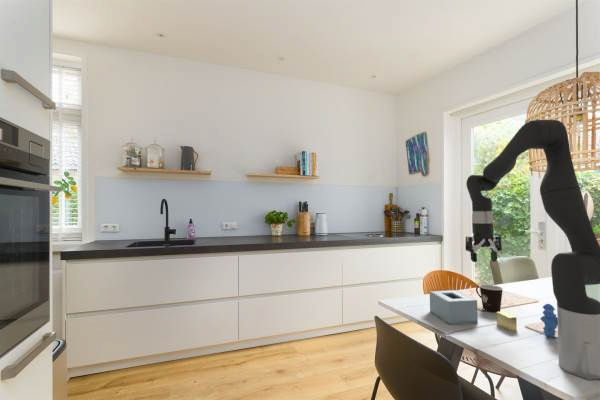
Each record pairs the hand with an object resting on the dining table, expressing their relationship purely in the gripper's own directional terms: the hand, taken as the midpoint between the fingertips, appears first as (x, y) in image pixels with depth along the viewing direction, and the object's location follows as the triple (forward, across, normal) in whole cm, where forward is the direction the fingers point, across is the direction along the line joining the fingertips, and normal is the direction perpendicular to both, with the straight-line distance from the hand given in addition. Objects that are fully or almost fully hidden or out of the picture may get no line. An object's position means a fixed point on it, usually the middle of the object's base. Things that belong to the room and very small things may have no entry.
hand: (484, 261), depth 122 cm
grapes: (+24, +10, -19) cm, 32 cm away
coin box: (+23, -12, +3) cm, 27 cm away
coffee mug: (+23, +10, +10) cm, 27 cm away
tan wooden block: (+24, +1, -9) cm, 25 cm away
